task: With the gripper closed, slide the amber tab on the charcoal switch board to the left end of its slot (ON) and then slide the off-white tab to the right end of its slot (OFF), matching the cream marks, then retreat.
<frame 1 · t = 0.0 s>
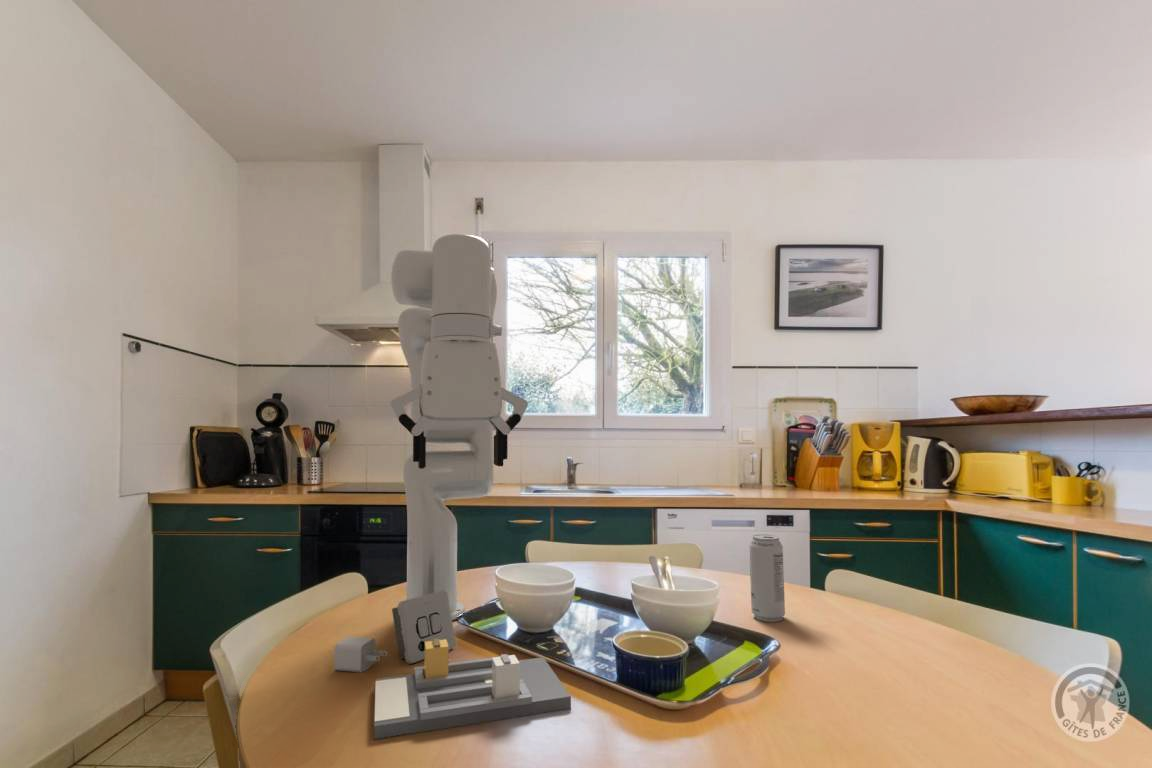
hand: (460, 466, 76), 31 cm above the table, tool pointing down, fingers open, 9 cm apart
usb wall charger: (362, 669, 91), on the table
switch board: (469, 698, 80), on the table
amber tab: (436, 659, 84), point 4 cm above the table, slide at 0.0 cm
white tab: (505, 677, 78), point 4 cm above the table, slide at 8.0 cm
energy drink can: (768, 618, 113), on the table
electrical switch: (422, 655, 97), on the table
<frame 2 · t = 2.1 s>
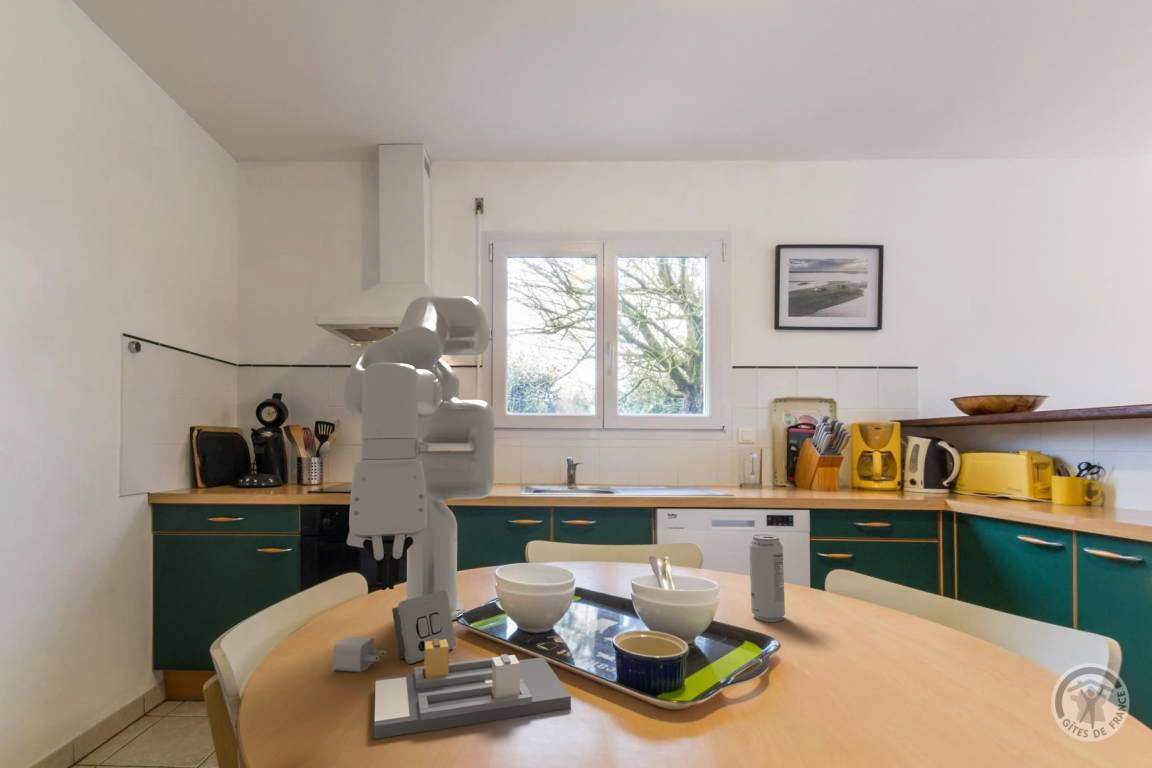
hand: (387, 587, 82), 15 cm above the table, tool pointing down, fingers closed
nothing on the table moved.
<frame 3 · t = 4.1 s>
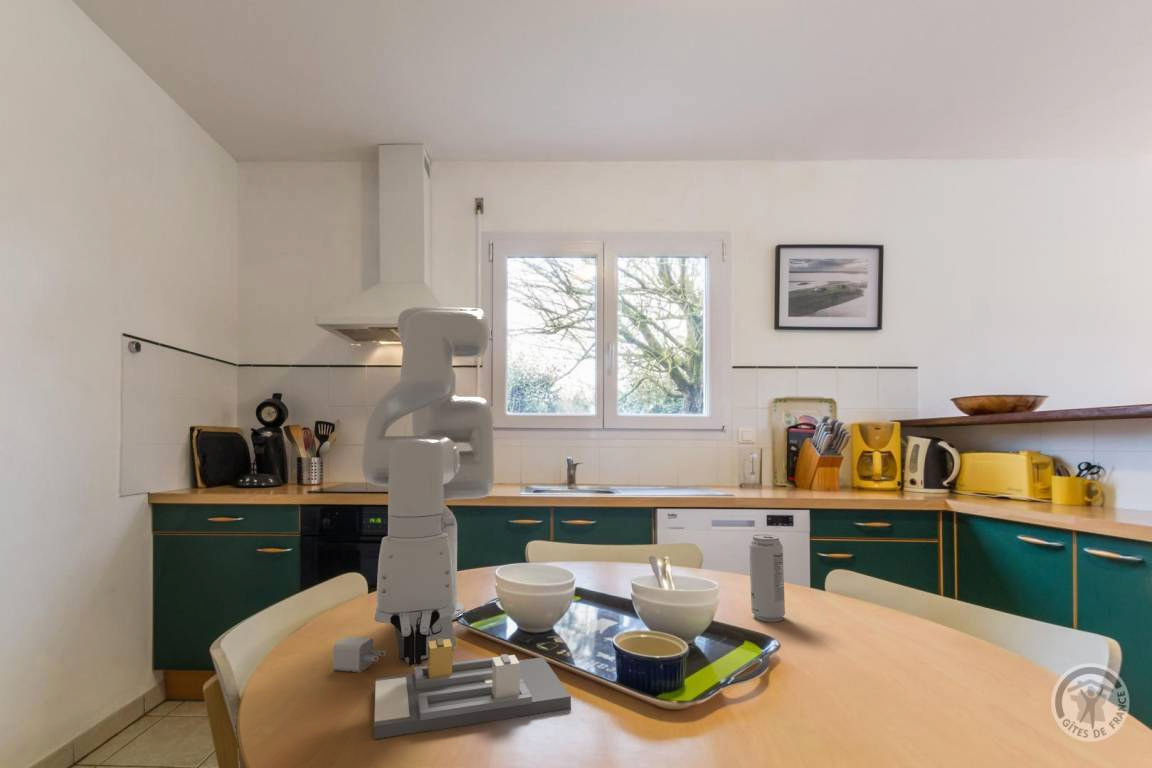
hand: (414, 661, 83), 4 cm above the table, tool pointing down, fingers closed
amber tab: (439, 659, 84), point 4 cm above the table, slide at 0.5 cm, touching gripper
everything else where it was.
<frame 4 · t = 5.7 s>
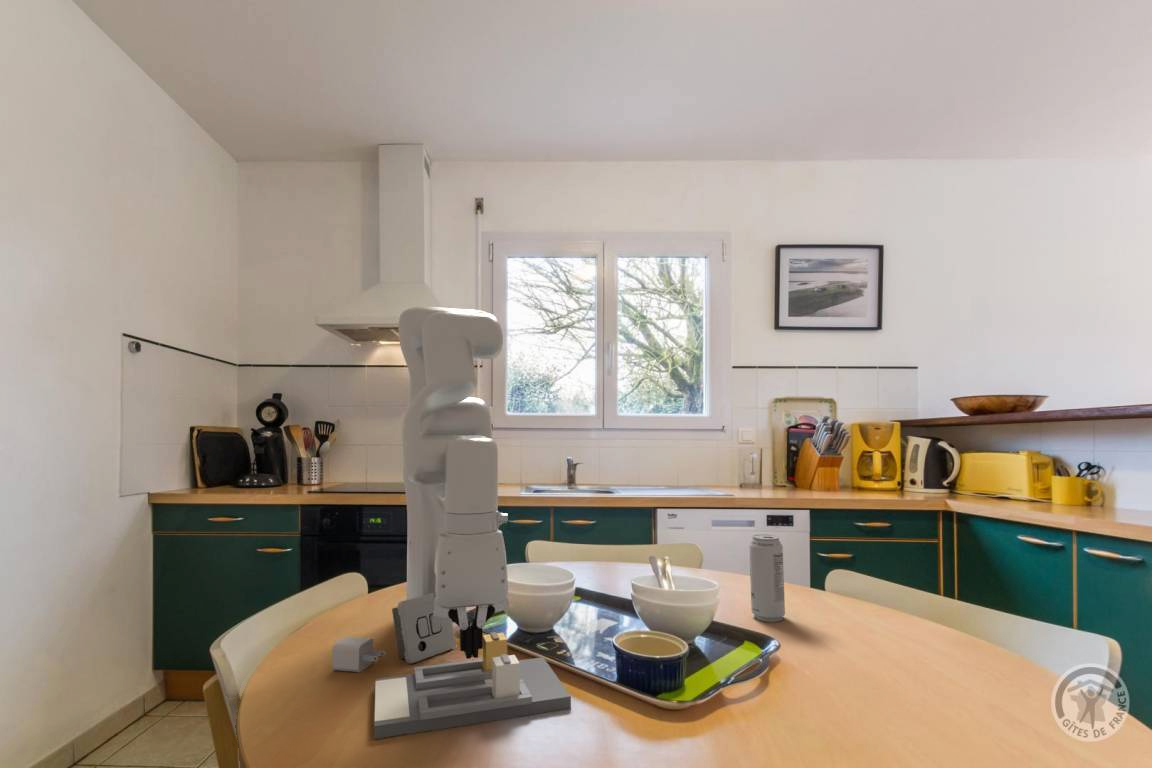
hand: (471, 654, 85), 4 cm above the table, tool pointing down, fingers closed
amber tab: (494, 652, 86), point 4 cm above the table, slide at 8.2 cm, touching gripper
everything else where it was.
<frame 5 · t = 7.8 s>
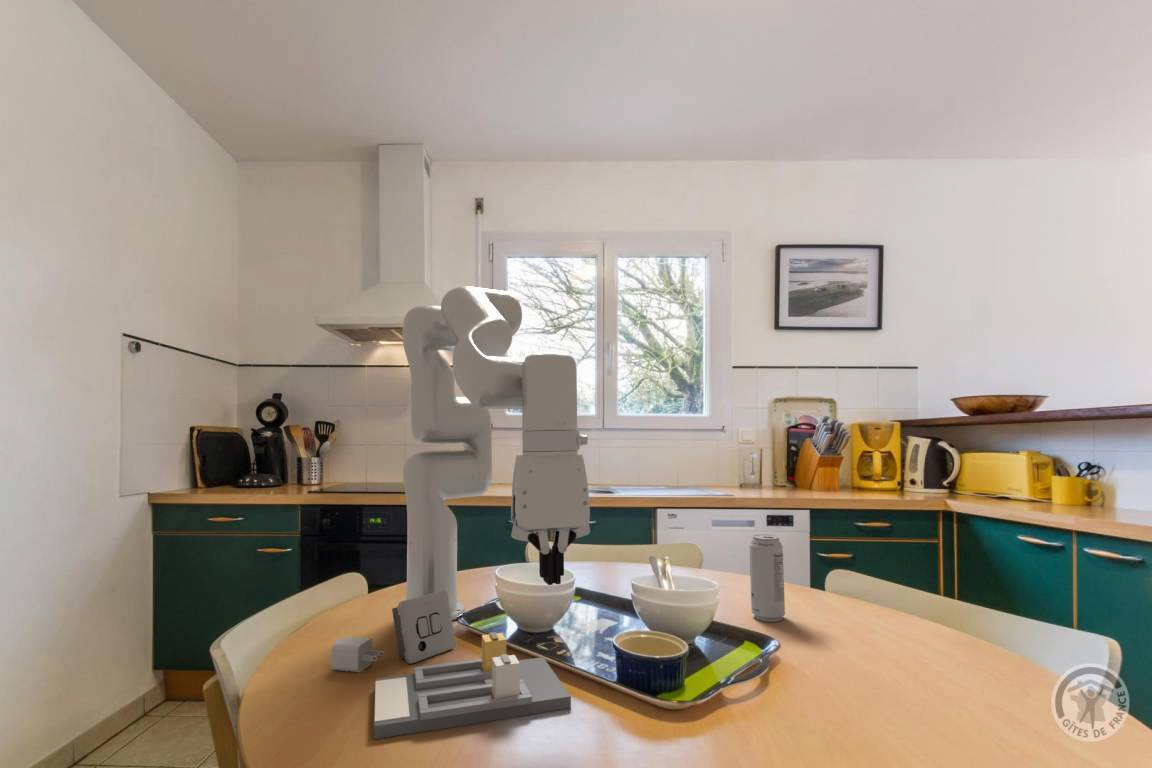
hand: (551, 581, 80), 15 cm above the table, tool pointing down, fingers closed
amber tab: (493, 652, 86), point 4 cm above the table, slide at 8.1 cm
everything else where it was.
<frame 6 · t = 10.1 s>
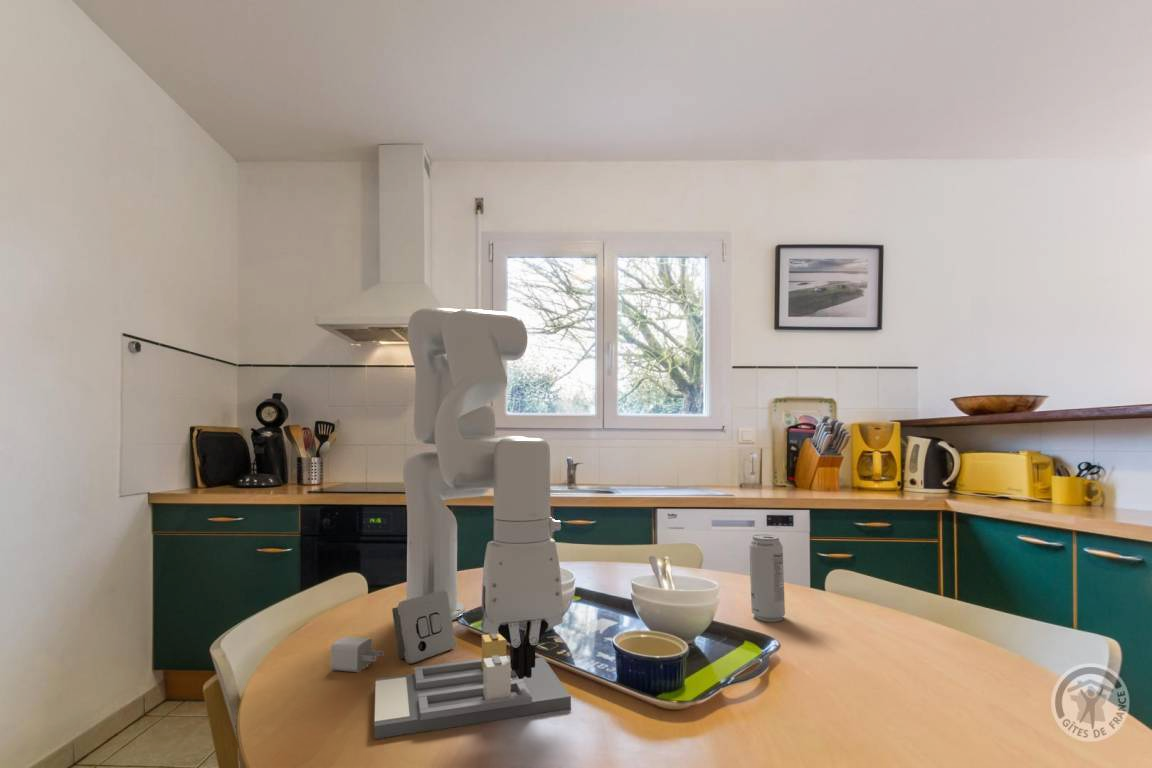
hand: (522, 674, 78), 4 cm above the table, tool pointing down, fingers closed
white tab: (496, 678, 77), point 4 cm above the table, slide at 6.8 cm, touching gripper
everything else where it was.
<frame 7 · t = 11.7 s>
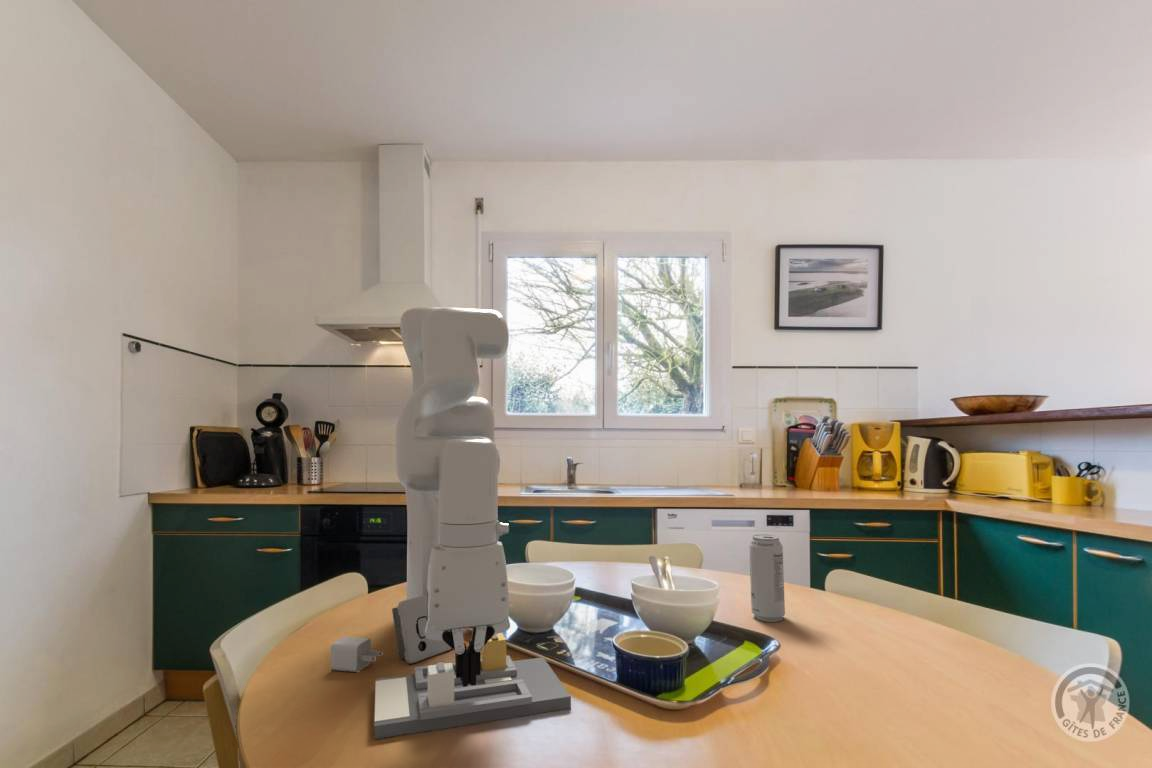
hand: (467, 681, 76), 4 cm above the table, tool pointing down, fingers closed
white tab: (440, 685, 75), point 4 cm above the table, slide at -0.2 cm, touching gripper
everything else where it was.
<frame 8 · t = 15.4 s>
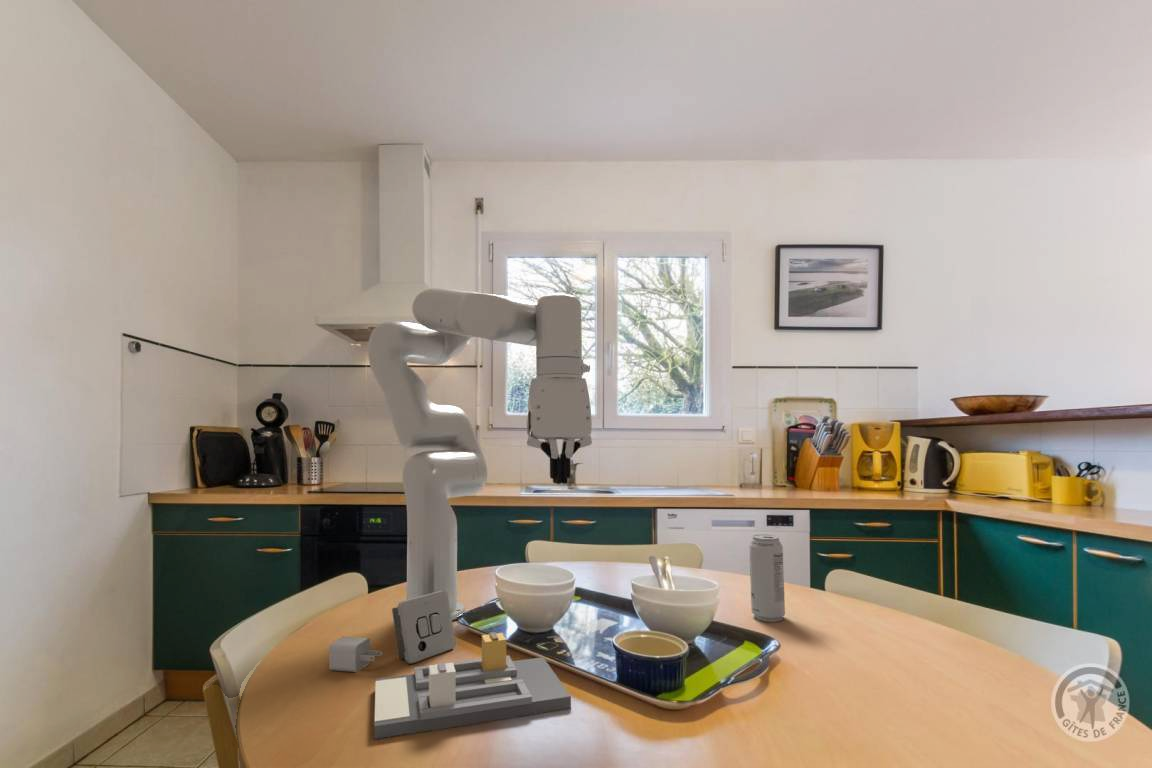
hand: (560, 482, 98), 27 cm above the table, tool pointing down, fingers closed
white tab: (442, 685, 75), point 4 cm above the table, slide at -0.1 cm
everything else where it was.
at the end: amber tab slide at 8.1 cm; white tab slide at -0.1 cm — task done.
